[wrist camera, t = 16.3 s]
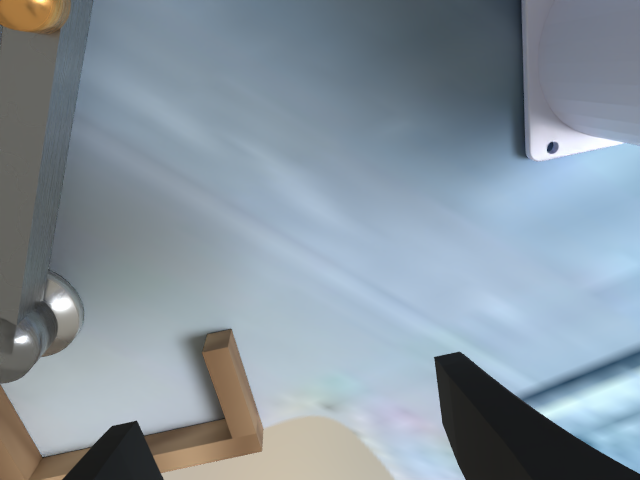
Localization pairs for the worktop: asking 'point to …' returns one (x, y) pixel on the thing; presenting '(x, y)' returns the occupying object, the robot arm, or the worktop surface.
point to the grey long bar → (33, 163)
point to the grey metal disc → (63, 311)
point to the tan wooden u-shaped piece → (166, 447)
